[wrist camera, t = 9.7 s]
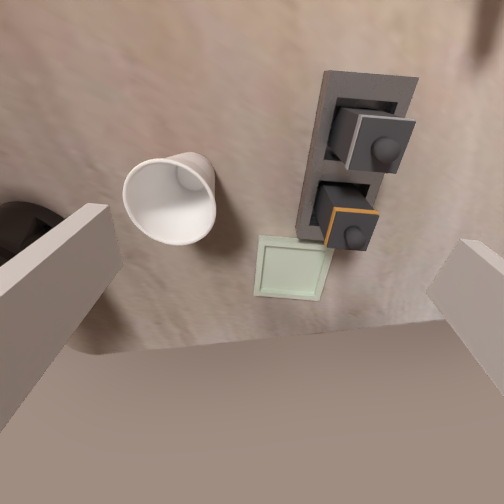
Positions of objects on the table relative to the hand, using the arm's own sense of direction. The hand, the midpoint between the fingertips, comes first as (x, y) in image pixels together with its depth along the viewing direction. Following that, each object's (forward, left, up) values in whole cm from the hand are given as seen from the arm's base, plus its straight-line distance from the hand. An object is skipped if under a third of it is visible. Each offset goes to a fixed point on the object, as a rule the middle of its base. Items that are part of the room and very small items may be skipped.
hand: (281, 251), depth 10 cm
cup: (-10, -6, -28) cm, 30 cm away
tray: (+6, -21, -27) cm, 35 cm away
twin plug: (+10, +1, -27) cm, 29 cm away
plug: (+10, -8, -27) cm, 30 cm away
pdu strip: (+10, -3, -27) cm, 29 cm away
